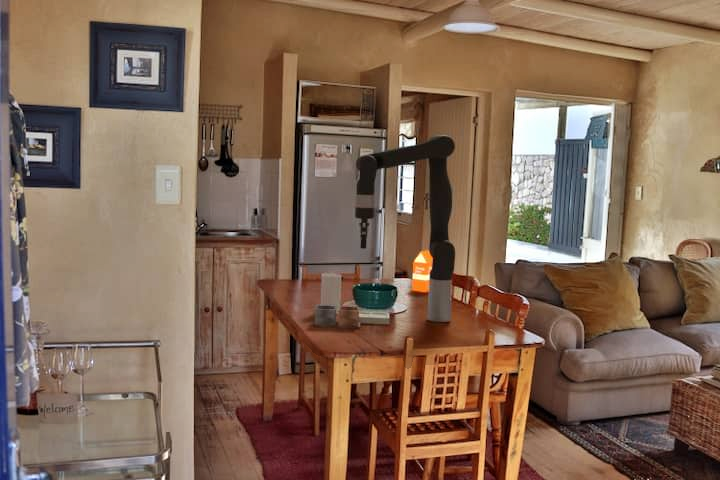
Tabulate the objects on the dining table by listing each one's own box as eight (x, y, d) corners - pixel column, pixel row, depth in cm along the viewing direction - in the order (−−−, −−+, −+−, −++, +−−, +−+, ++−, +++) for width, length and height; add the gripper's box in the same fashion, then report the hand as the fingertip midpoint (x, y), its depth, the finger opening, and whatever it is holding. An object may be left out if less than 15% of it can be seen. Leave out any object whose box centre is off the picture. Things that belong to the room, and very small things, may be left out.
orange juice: (433, 289, 351) (435, 250, 349) (425, 292, 344) (427, 252, 341) (419, 287, 355) (421, 249, 353) (411, 290, 348) (413, 250, 346)
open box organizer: (360, 323, 274) (360, 306, 273) (359, 328, 265) (360, 311, 264) (314, 321, 274) (315, 304, 273) (312, 326, 265) (313, 309, 264)
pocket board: (388, 318, 283) (389, 312, 283) (389, 324, 274) (389, 318, 273) (352, 317, 283) (352, 311, 283) (351, 322, 274) (351, 316, 274)
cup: (337, 315, 286) (338, 277, 284) (318, 313, 287) (319, 275, 286) (341, 311, 294) (343, 274, 292) (323, 309, 295) (324, 272, 294)
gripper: (374, 207, 265) (372, 249, 267) (374, 205, 279) (372, 245, 281) (354, 207, 265) (353, 249, 267) (355, 204, 279) (354, 244, 281)
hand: (363, 247), depth 274 cm, fingers open, 8 cm apart
